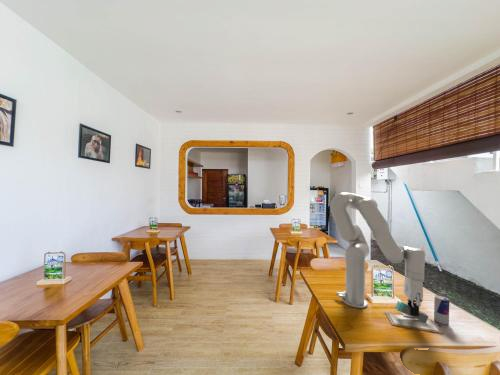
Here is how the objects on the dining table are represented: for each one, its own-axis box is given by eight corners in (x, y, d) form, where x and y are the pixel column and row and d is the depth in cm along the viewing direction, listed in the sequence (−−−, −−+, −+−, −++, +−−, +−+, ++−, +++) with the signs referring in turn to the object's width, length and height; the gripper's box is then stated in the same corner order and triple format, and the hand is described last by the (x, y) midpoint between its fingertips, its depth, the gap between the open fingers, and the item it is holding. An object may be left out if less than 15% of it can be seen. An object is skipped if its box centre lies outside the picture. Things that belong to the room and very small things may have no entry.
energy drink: (448, 328, 104) (449, 301, 104) (433, 323, 108) (434, 297, 108) (448, 323, 108) (449, 297, 108) (434, 318, 112) (435, 293, 112)
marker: (426, 323, 106) (397, 310, 110) (422, 319, 110) (395, 307, 113) (429, 315, 106) (400, 302, 110) (425, 312, 109) (398, 300, 113)
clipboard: (391, 325, 105) (391, 322, 105) (384, 312, 116) (384, 310, 116) (444, 334, 100) (444, 331, 100) (431, 320, 110) (431, 317, 110)
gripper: (399, 267, 118) (398, 303, 118) (411, 279, 103) (410, 321, 103) (416, 269, 116) (415, 306, 116) (431, 282, 101) (430, 324, 101)
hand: (412, 313), depth 109 cm, fingers closed on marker, 3 cm apart
